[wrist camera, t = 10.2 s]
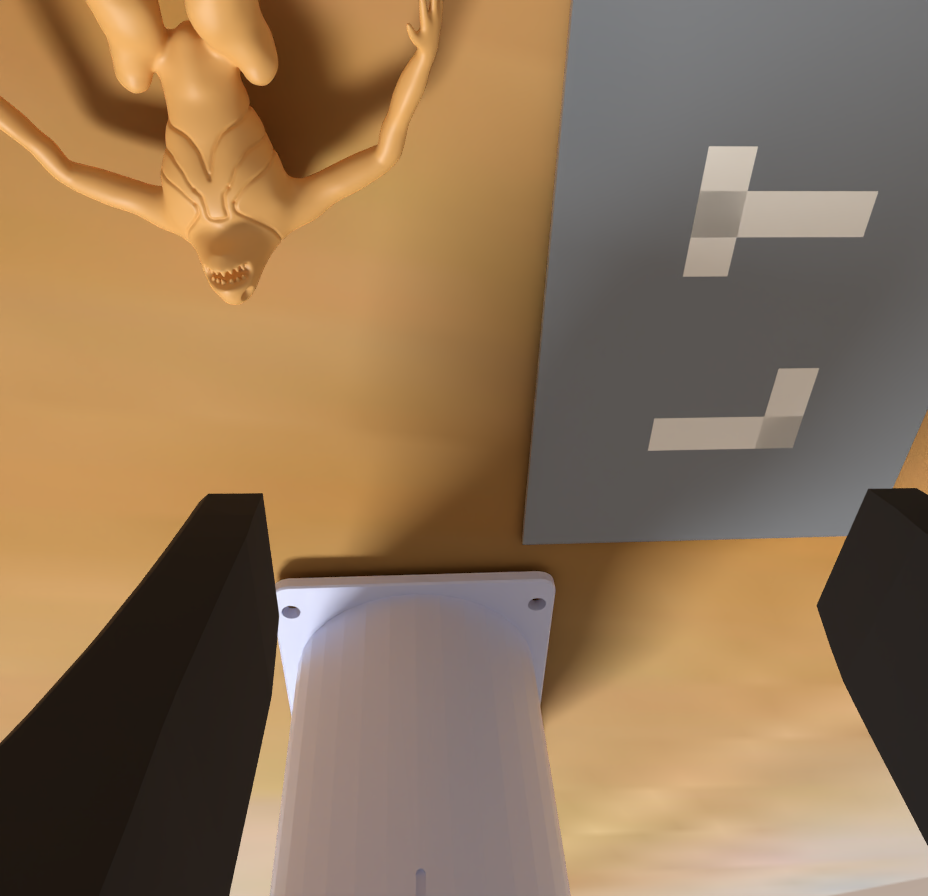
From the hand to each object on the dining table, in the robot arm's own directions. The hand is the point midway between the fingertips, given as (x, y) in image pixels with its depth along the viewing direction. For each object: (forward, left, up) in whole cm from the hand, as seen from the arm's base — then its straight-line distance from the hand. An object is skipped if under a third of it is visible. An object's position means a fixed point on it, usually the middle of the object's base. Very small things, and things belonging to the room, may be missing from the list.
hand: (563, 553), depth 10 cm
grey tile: (-2, -6, -9) cm, 11 cm away
